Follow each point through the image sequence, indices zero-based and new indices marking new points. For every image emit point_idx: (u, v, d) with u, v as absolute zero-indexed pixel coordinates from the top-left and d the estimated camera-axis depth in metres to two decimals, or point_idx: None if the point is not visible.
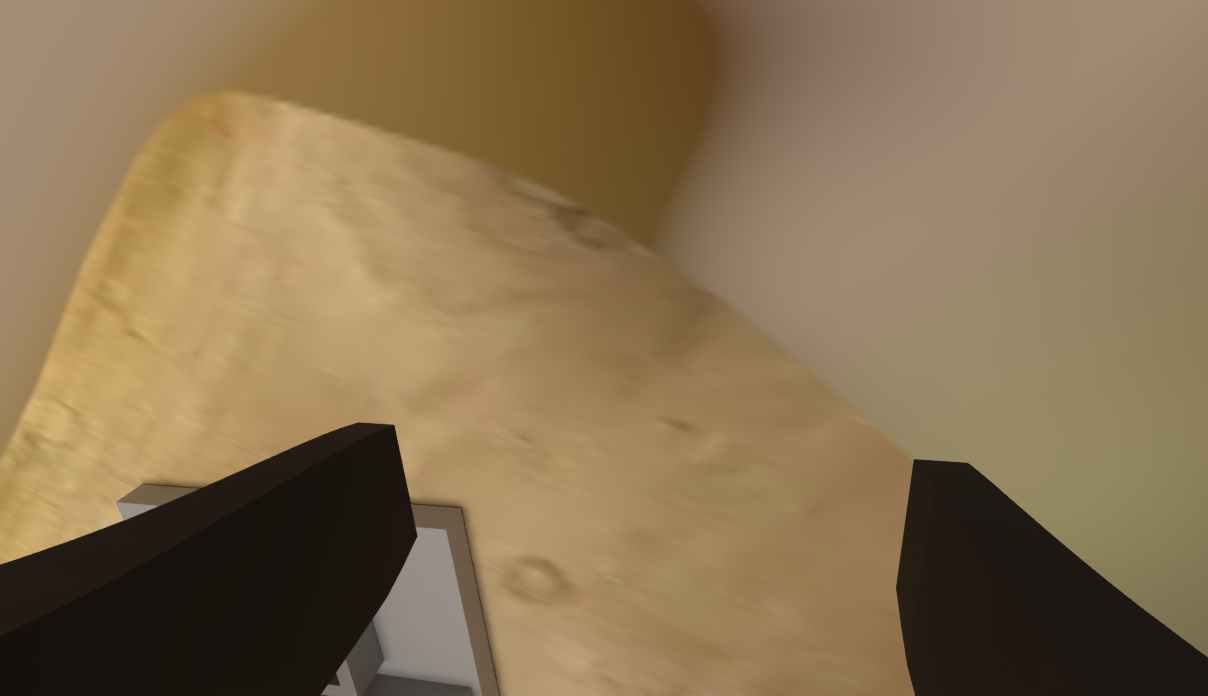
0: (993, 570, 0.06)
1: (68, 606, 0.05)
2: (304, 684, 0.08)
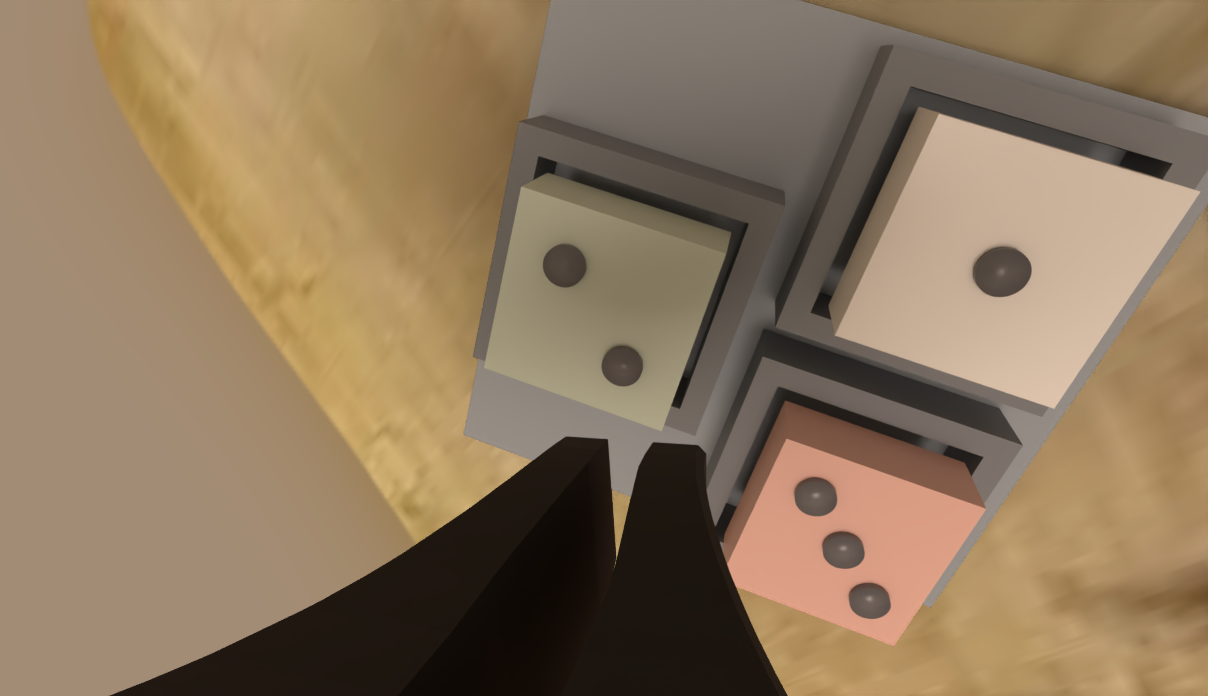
0: (625, 533, 0.06)
1: (425, 662, 0.05)
2: None
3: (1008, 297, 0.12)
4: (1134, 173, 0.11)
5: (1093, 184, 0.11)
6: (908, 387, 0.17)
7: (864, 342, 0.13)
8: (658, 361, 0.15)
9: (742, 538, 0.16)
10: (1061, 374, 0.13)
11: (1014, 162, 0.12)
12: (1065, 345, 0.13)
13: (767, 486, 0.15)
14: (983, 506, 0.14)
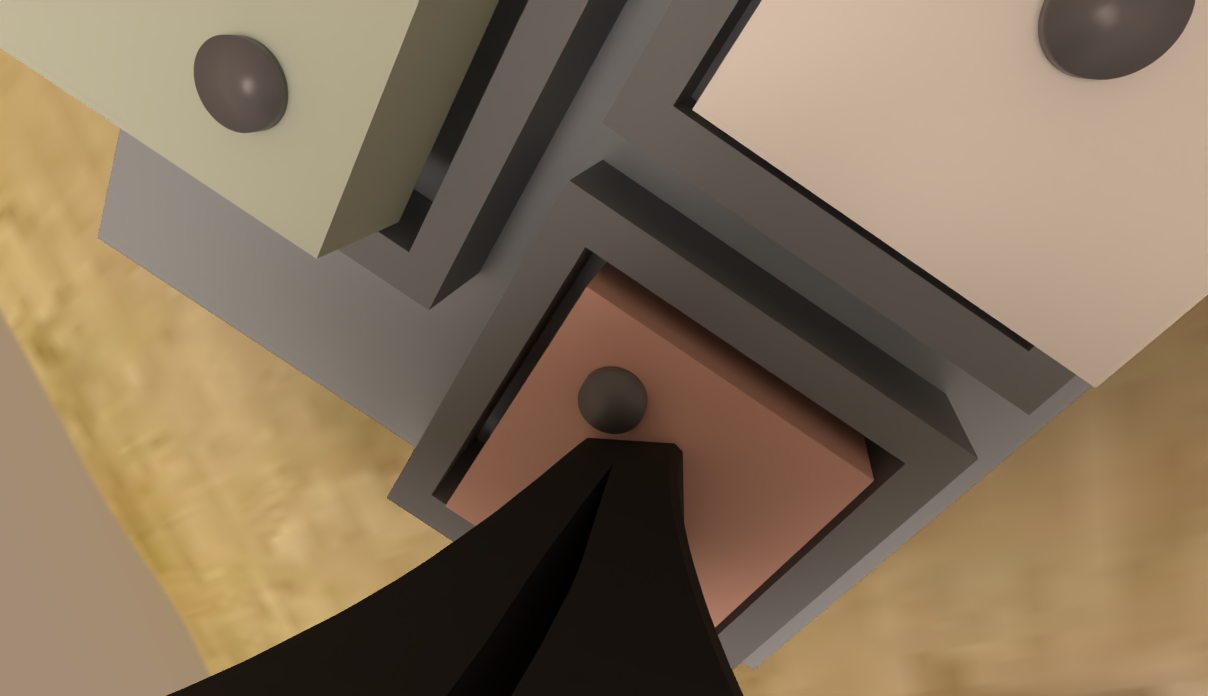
0: (594, 530, 0.06)
1: (465, 668, 0.05)
2: None
3: (1100, 94, 0.05)
4: None
5: None
6: (813, 317, 0.09)
7: (751, 142, 0.06)
8: (319, 93, 0.07)
9: (489, 447, 0.10)
10: (1141, 313, 0.06)
11: None
12: (1178, 246, 0.05)
13: (540, 366, 0.09)
14: (870, 475, 0.09)
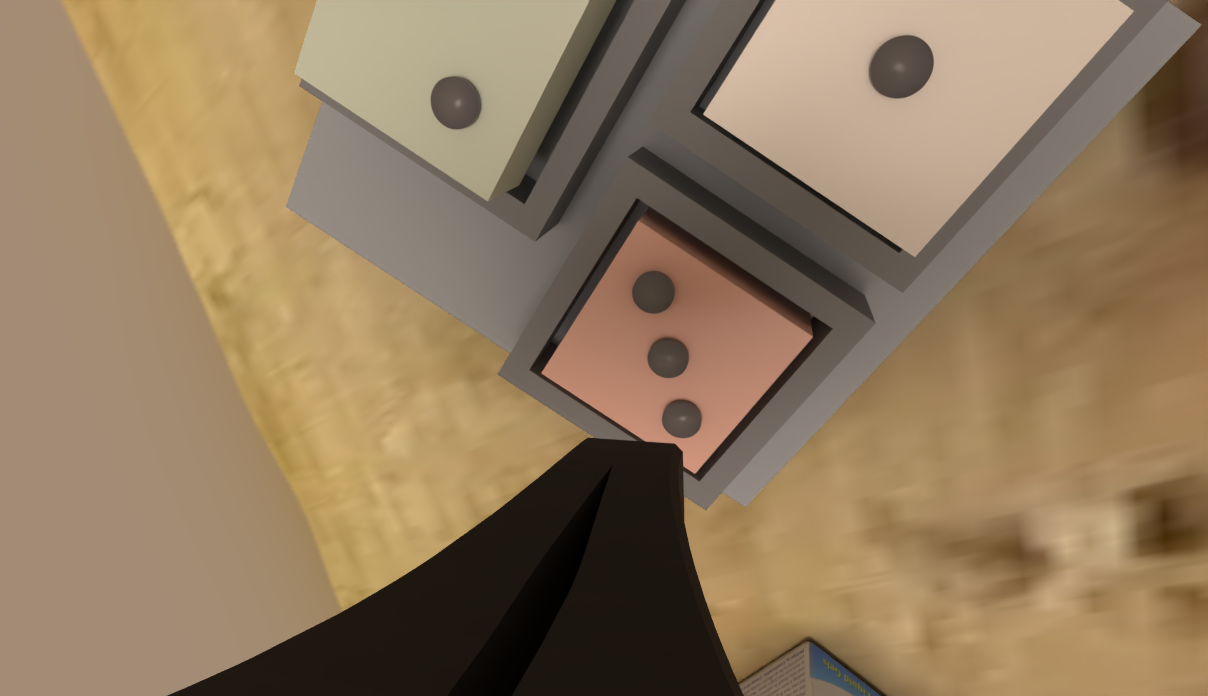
0: (594, 530, 0.06)
1: (466, 668, 0.05)
2: None
3: (900, 105, 0.11)
4: None
5: None
6: (777, 243, 0.15)
7: (733, 131, 0.11)
8: (499, 107, 0.12)
9: (572, 329, 0.15)
10: (932, 215, 0.11)
11: None
12: (945, 179, 0.11)
13: (608, 272, 0.14)
14: (811, 334, 0.14)
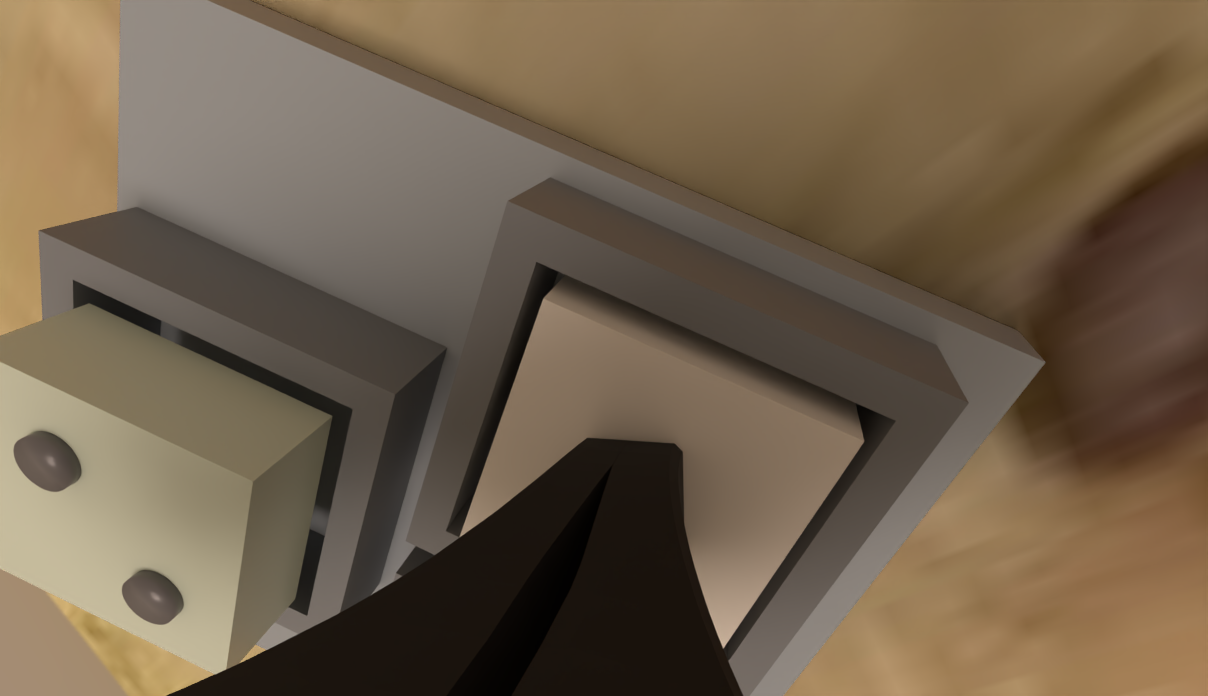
0: (594, 530, 0.06)
1: (465, 669, 0.05)
2: None
3: None
4: (783, 407, 0.08)
5: (736, 412, 0.09)
6: None
7: None
8: (200, 597, 0.10)
9: None
10: (720, 622, 0.10)
11: (639, 371, 0.09)
12: (722, 591, 0.10)
13: None
14: None
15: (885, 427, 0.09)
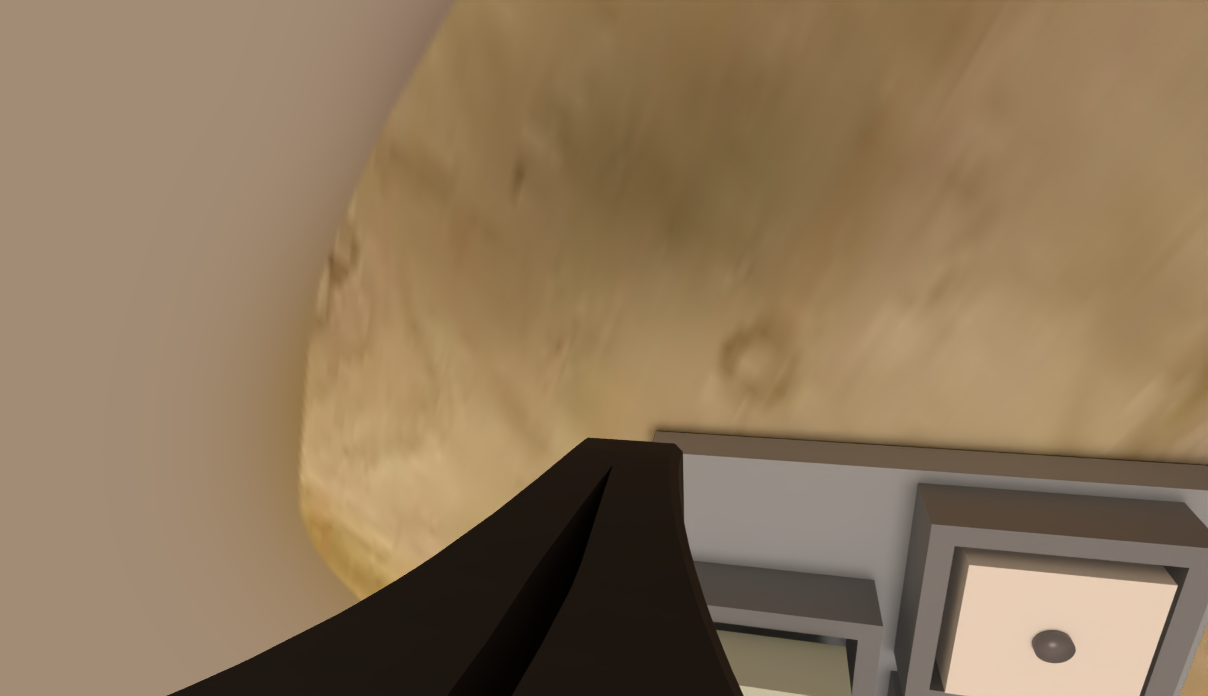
0: (594, 530, 0.06)
1: (466, 668, 0.05)
2: None
3: (1065, 658, 0.17)
4: (1124, 581, 0.16)
5: (1097, 589, 0.16)
6: None
7: (968, 694, 0.18)
8: None
9: None
10: None
11: (1034, 584, 0.16)
12: (1121, 680, 0.17)
13: None
14: None
15: (1183, 570, 0.16)
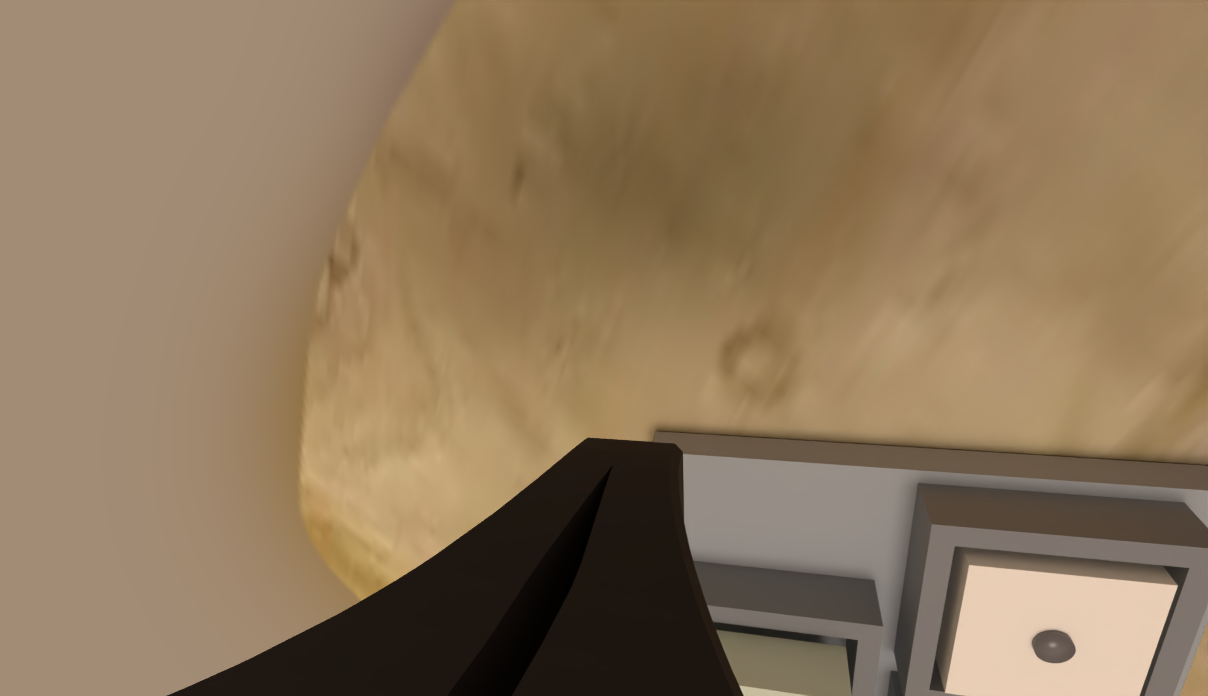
0: (594, 530, 0.06)
1: (465, 668, 0.05)
2: None
3: (1065, 658, 0.17)
4: (1124, 581, 0.16)
5: (1097, 589, 0.16)
6: None
7: (968, 694, 0.18)
8: None
9: None
10: None
11: (1034, 584, 0.16)
12: (1121, 680, 0.17)
13: None
14: None
15: (1183, 570, 0.16)
